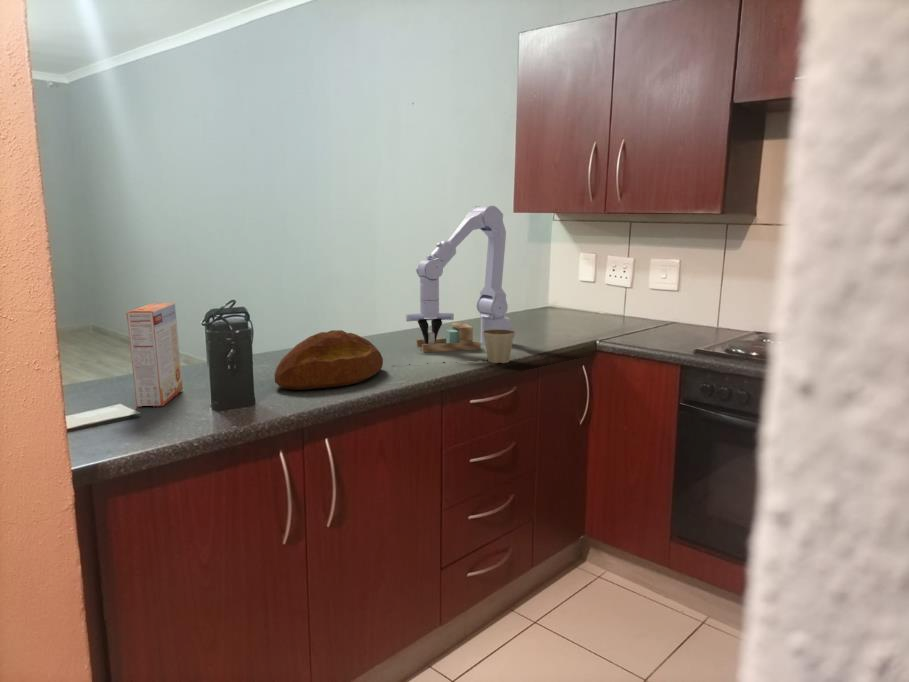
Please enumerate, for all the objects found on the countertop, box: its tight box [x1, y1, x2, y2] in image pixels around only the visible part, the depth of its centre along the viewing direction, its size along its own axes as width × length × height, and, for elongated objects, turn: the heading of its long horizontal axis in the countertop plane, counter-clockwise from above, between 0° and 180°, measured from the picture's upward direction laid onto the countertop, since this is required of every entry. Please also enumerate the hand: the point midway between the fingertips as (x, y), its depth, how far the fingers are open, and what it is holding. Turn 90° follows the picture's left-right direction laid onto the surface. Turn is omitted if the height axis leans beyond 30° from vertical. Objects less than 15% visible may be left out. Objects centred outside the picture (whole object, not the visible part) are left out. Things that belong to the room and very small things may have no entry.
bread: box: [273, 329, 384, 391], centre depth 164 cm, size 21×33×12 cm, turn 139°
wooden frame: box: [415, 322, 482, 353], centre depth 203 cm, size 18×10×8 cm, turn 104°
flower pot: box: [483, 329, 517, 364], centre depth 186 cm, size 9×9×9 cm
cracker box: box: [126, 302, 184, 408], centre depth 145 cm, size 14×6×21 cm, turn 5°
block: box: [445, 329, 459, 343], centre depth 203 cm, size 4×4×4 cm
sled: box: [428, 330, 435, 344], centre depth 203 cm, size 12×7×5 cm, turn 104°
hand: (430, 343), depth 202 cm, fingers closed on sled, 2 cm apart
